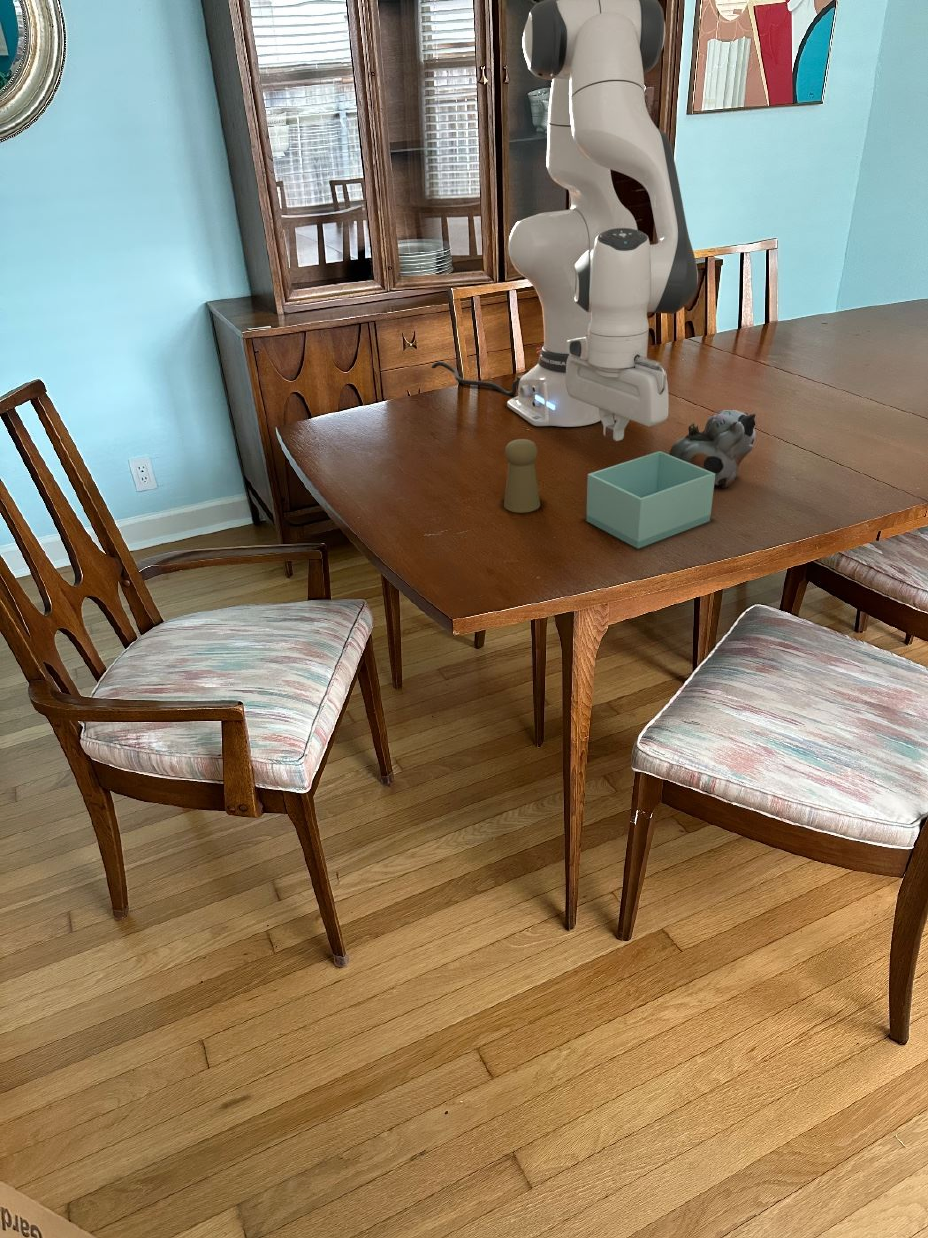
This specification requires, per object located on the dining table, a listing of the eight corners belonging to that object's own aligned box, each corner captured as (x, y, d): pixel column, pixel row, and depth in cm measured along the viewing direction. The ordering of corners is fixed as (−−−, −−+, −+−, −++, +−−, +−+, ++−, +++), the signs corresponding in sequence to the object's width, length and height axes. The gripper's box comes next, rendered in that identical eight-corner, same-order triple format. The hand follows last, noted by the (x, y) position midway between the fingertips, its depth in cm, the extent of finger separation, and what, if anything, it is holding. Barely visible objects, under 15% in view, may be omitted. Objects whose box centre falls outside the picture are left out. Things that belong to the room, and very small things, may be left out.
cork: (537, 513, 139) (537, 449, 133) (501, 511, 140) (499, 448, 134) (542, 497, 144) (542, 435, 138) (506, 496, 145) (505, 434, 139)
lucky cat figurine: (663, 459, 155) (703, 387, 150) (723, 489, 154) (765, 418, 149) (661, 467, 141) (704, 389, 136) (727, 501, 140) (773, 423, 135)
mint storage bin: (587, 474, 131) (641, 499, 123) (659, 450, 138) (715, 473, 129) (586, 521, 136) (637, 549, 127) (656, 496, 142) (710, 521, 133)
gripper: (682, 359, 121) (674, 451, 129) (590, 332, 136) (588, 416, 144) (649, 368, 118) (643, 461, 126) (559, 340, 133) (558, 425, 141)
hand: (613, 437), depth 135 cm, fingers closed
